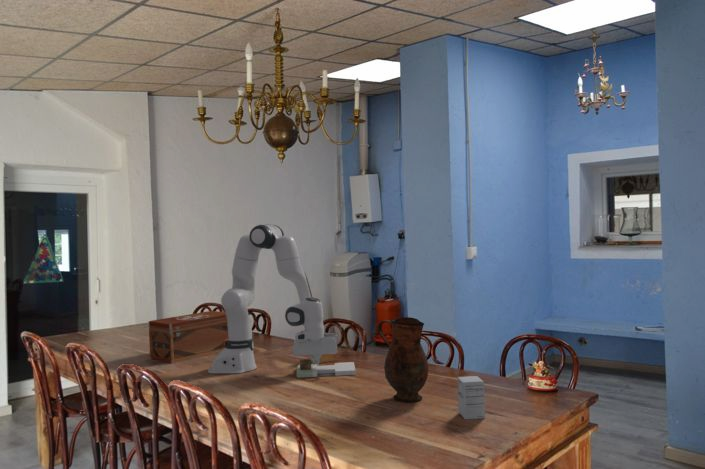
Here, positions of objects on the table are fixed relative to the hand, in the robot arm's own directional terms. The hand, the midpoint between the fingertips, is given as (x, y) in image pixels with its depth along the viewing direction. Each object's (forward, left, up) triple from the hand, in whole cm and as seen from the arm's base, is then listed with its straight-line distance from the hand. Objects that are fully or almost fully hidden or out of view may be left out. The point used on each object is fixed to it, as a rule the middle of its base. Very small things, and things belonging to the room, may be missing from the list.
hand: (315, 364), depth 273 cm
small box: (+4, +22, -4) cm, 23 cm away
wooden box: (-66, +54, -4) cm, 86 cm away
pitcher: (+34, -46, -4) cm, 57 cm away
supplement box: (+54, -71, -4) cm, 89 cm away
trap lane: (+5, 0, -4) cm, 6 cm away
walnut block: (-5, 0, -2) cm, 5 cm away
